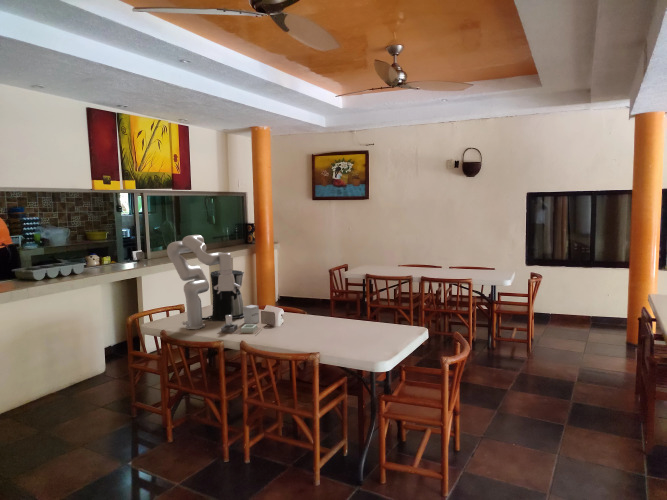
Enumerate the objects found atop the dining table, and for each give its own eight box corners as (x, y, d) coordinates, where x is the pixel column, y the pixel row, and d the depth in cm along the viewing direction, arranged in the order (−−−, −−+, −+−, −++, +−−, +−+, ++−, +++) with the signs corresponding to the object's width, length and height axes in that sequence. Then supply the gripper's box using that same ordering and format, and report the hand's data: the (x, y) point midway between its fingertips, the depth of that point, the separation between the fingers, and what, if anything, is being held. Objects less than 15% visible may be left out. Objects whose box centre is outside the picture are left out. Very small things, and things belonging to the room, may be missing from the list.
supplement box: (251, 326, 312) (250, 308, 311) (244, 325, 317) (243, 306, 315) (259, 324, 318) (258, 305, 317) (252, 322, 323) (251, 304, 321)
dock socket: (241, 332, 294) (240, 327, 293) (245, 329, 301) (244, 324, 301) (253, 332, 293) (253, 327, 292) (257, 329, 300) (257, 324, 300)
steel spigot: (225, 331, 297) (224, 316, 296) (227, 329, 301) (226, 314, 300) (231, 331, 296) (230, 316, 295) (233, 329, 300) (232, 314, 299)
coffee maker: (251, 316, 340) (248, 270, 336) (210, 325, 319) (206, 276, 315) (235, 311, 357) (232, 267, 353) (195, 319, 336) (192, 273, 332)
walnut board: (216, 336, 293) (216, 329, 292) (224, 329, 307) (224, 323, 306) (255, 336, 290) (255, 329, 289) (261, 329, 303) (261, 323, 303)
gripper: (210, 274, 292) (212, 301, 294) (237, 273, 290) (239, 300, 291) (215, 272, 299) (217, 298, 301) (241, 271, 297) (243, 297, 299)
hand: (228, 299), depth 296 cm, fingers open, 9 cm apart
